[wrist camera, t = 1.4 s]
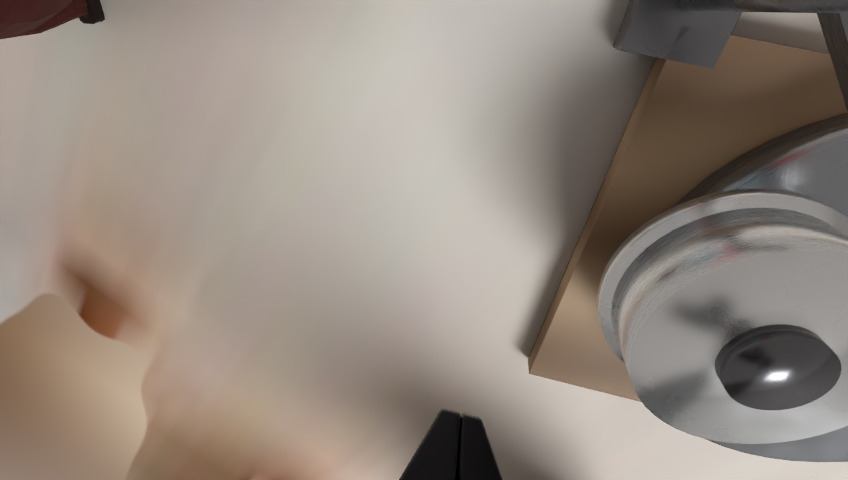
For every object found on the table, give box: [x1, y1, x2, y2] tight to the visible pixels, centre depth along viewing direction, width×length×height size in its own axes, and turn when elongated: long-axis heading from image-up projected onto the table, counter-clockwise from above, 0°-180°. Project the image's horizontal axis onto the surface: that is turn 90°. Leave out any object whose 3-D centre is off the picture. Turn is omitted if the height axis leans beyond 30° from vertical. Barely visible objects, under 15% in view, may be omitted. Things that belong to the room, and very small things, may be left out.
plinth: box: [528, 26, 848, 402], centre depth 17 cm, size 16×19×1 cm
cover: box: [597, 188, 848, 444], centre depth 13 cm, size 8×8×4 cm
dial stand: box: [613, 0, 848, 111], centre depth 10 cm, size 5×5×9 cm
